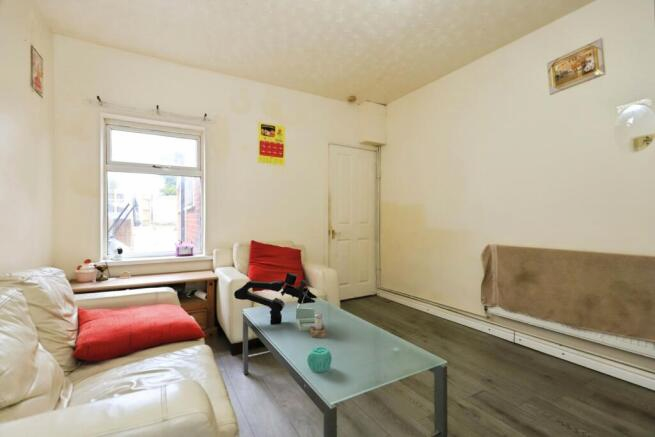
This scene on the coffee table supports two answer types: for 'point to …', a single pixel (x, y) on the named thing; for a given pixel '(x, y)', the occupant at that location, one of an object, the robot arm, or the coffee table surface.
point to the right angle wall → (304, 313)
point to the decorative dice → (319, 359)
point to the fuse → (318, 321)
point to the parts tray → (304, 322)
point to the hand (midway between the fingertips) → (316, 299)
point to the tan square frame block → (318, 332)
